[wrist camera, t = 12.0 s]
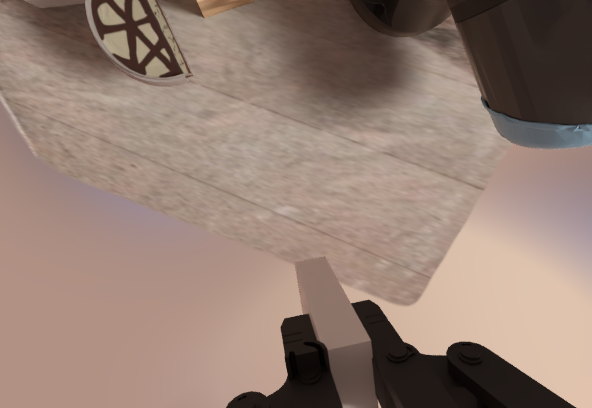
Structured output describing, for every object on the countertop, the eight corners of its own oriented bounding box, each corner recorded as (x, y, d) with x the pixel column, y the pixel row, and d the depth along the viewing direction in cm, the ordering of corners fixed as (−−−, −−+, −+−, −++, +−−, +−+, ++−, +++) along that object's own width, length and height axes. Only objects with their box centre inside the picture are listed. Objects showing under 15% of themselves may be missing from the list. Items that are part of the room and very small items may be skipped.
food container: (96, 0, 39) (47, -37, 29) (148, -22, 39) (116, -65, 29) (152, 107, 42) (124, 106, 33) (199, 87, 43) (186, 80, 33)
